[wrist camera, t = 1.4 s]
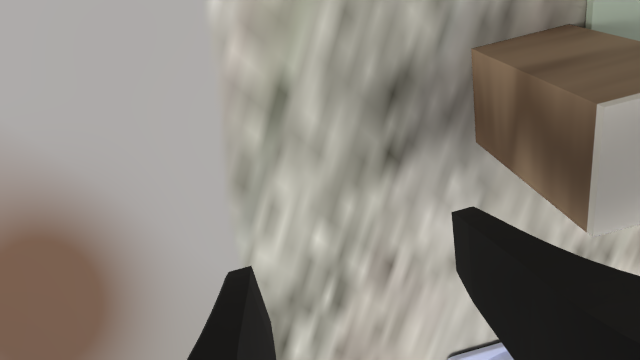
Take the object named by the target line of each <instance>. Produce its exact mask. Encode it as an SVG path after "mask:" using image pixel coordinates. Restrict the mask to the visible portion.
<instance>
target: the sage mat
mask: <svg viewBox="0 0 640 360" xmlns="http://www.w3.org/2000/svg"><path fill="white" fill-rule="evenodd" d="M585 28H587V29H591V30H595V31H599V32H603V33H608V34H612V35H616V36H620V37H624V38H628V39H633V40H637V41H640V0H587V10H586V25H585Z"/></svg>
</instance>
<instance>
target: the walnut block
mask: <svg viewBox="0 0 640 360" xmlns="http://www.w3.org/2000/svg"><path fill="white" fill-rule="evenodd" d="M471 51H472V71H473V91H474V111H475V131H476V142H477V143H478V144H479V145H480V146H482V147H483V148H484V149H485V150H486V151H488V152H489V153H490V154H491V155H493V156H494V157H495V158H496V159H497V160H499V161H500V162H501V163H502V164H504V165H505V166H506V167H507V168H508V169H510V170H511V171H512V172H513V173H515V174H516V175H517V176H518V177H519V178H521V179H522V180H523V181H524V182H526V183H527V184H528V185H529V186H530V187H532V188H533V189H534V190H535V191H537V192H538V193H539V194H540V195H541V196H543V197H544V198H545V199H546V200H548V201H549V202H550V203H551V204H552V205H554V206H555V207H556V208H557V209H559V210H560V211H561V212H562V213H563V214H565V215H566V216H567V217H568V218H570V219H571V220H572V221H573V222H574V223H576V224H577V225H578V226H579V227H581V228H582V229H583V230H584V231H585V232H587V233H588V234H589V235H590V236H592V237H596V236H600V235H604V234H607V233H611V232H615V231H618V230H622V229H626V228H629V227H633V226H636V225H640V41H637V40H633V39H628V38H624V37H620V36H616V35H612V34H608V33H603V32H599V31H595V30H591V29H587V28H583V27H578V26H574V25H570V24H568V25H564V26H560V27H556V28H552V29H548V30H544V31H540V32H536V33H532V34H528V35H524V36H520V37H516V38H512V39H508V40H504V41H500V42H496V43H492V44H488V45H484V46H480V47H476V48H472V49H471Z"/></svg>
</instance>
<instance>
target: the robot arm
mask: <svg viewBox="0 0 640 360" xmlns="http://www.w3.org/2000/svg"><path fill="white" fill-rule="evenodd" d="M452 222H453V234H454V246H455V258H456V270H457V273H458V275H459V277H460V279H461V280H462V282H463V284H464V286H465V288H466V290H467V292H468V294H469V296H470V297H471V299H472V301H473V303H474V304H475V306H476V307H477V308H478V310H479V311H480V313H481V314H482V316H483V317H484V318H485V320H486V321H487V323H488V324H489V326H490V327H491V328H492V330H493V331H494V333H495V334H496V335H497V337H498V338H499V340H500V341H501V343H498V344H494V345H491V346H487V347H483V348H480V349H476V350H473V351H469V352H466V353H462V354H459V355H455V356H452V357H450V358H449V359H448V360H640V276H637V275H634V274H631V273H627V272H624V271H621V270H618V269H615V268H612V267H609V266H606V265H603V264H600V263H597V262H594V261H591V260H588V259H586V258H583V257H580V256H578V255H575V254H573V253H571V252H568V251H566V250H563V249H561V248H558V247H556V246H554V245H551V244H549V243H547V242H545V241H543V240H540V239H538V238H536V237H534V236H532V235H530V234H528V233H526V232H523V231H521V230H519V229H517V228H515V227H513V226H511V225H509V224H507V223H505V222H503V221H501V220H500V219H498V218H496V217H494V216H492V215H490V214H488V213H486V212H484V211H482V210H480V209H478V208H475V207H469V208H466V209H462V210H458V211H455V212H452ZM187 360H276V354H275V347H274V340H273V334H272V327H271V321H270V318H269V316H268V313H267V310H266V307H265V304H264V301H263V298H262V295H261V292H260V290H259V287H258V284H257V281H256V278H255V275H254V272H253V269H252V267H251V266H249V267H245V268H242V269H238V270H234V271H231V272H229V273H228V274H227V276H226V278H225V280H224V283H223V286H222V288H221V291H220V293H219V295H218V298H217V300H216V303H215V305H214V307H213V309H212V312H211V314H210V316H209V318H208V320H207V322H206V324H205V326H204V329H203V331H202V333H201V335H200V337H199V339H198V340H197V342H196V344H195V346H194V348H193V350H192V351H191V353H190V355H189V357H188V359H187Z"/></svg>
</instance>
